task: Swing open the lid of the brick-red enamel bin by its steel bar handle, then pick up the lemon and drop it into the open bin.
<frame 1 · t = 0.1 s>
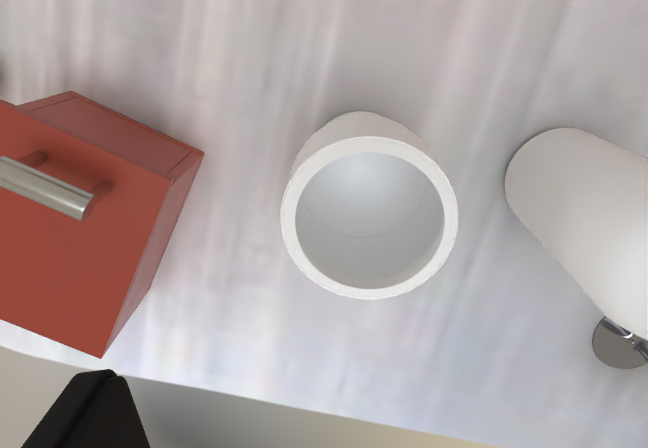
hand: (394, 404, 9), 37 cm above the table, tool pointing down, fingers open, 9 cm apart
bin lid: (37, 253, 35), point 13 cm above the table, hinge at 0.0°
bin: (112, 197, 47), on the table
wine glass: (629, 335, 51), on the table
jar: (360, 159, 45), on the table
alcohol: (552, 176, 46), on the table
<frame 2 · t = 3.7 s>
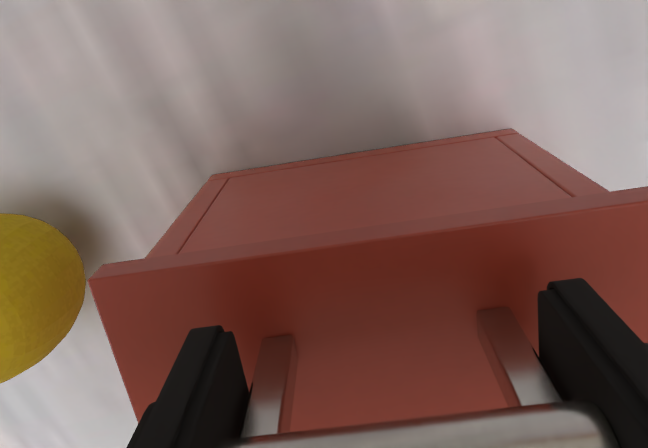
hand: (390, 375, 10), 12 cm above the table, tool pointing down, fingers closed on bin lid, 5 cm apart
bin: (382, 315, 23), on the table
lemon: (53, 248, 23), on the table
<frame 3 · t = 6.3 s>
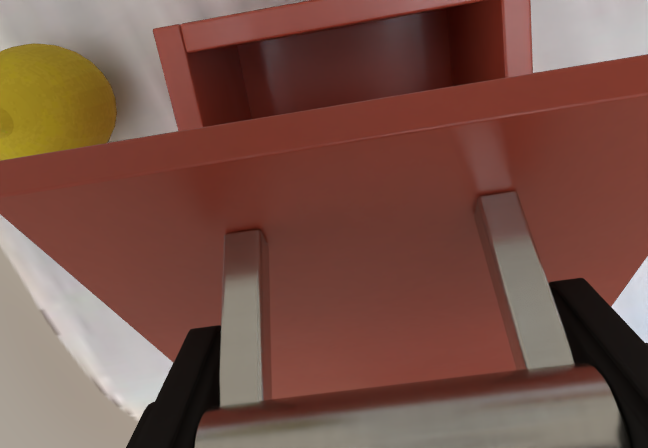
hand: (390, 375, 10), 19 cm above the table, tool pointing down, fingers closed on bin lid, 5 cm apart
bin lid: (396, 412, 13), point 17 cm above the table, hinge at 36.8°, touching gripper
bin: (358, 156, 28), on the table
lemon: (87, 98, 28), on the table
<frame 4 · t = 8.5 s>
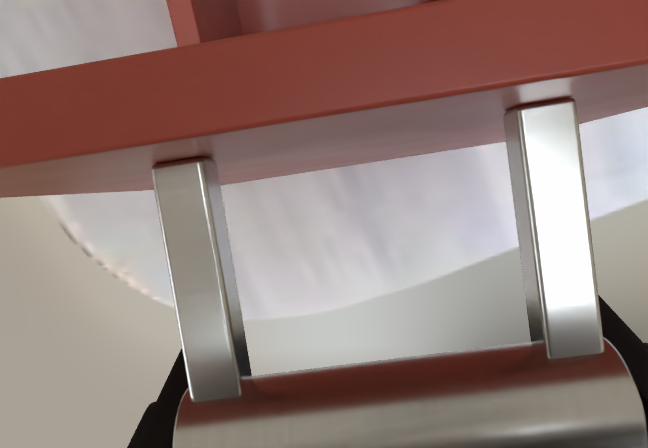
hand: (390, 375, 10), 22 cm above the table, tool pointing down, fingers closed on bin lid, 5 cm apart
bin lid: (371, 239, 12), point 19 cm above the table, hinge at 73.9°, touching gripper
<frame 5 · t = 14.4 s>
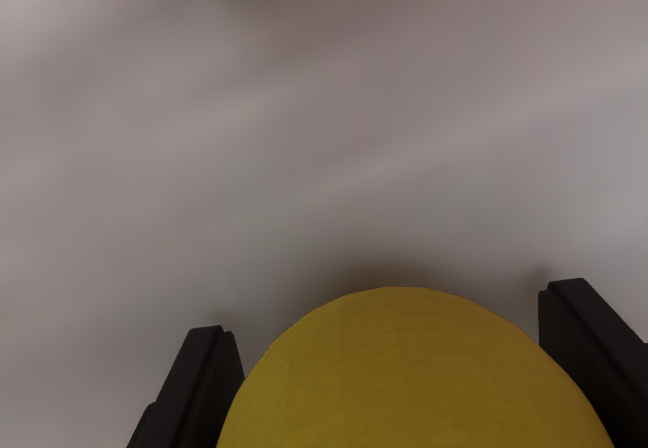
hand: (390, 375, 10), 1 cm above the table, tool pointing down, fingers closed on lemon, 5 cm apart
lemon: (384, 336, 11), on the table, touching gripper
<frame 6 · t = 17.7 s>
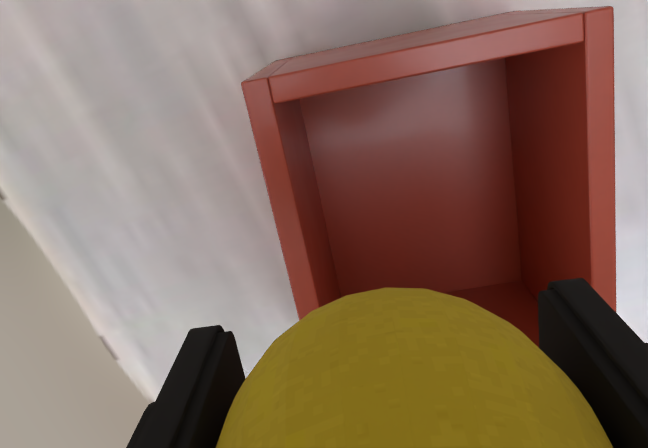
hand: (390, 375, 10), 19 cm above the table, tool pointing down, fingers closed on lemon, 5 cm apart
bin: (413, 180, 29), on the table
lemon: (384, 337, 11), point 18 cm above the table, touching gripper
when the fingers open (9 cm above the table, at t = 21.5 s): lemon stays where it is, resting on bin.
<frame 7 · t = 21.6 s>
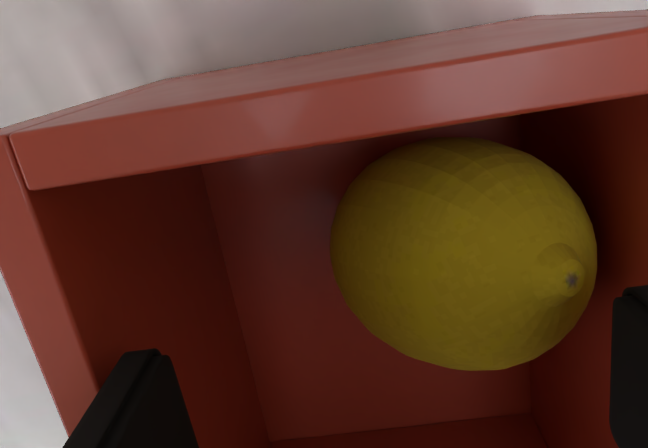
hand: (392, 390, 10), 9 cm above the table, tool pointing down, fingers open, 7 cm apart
bin: (374, 263, 19), on the table
lemon: (373, 232, 17), point 1 cm above the table, touching bin
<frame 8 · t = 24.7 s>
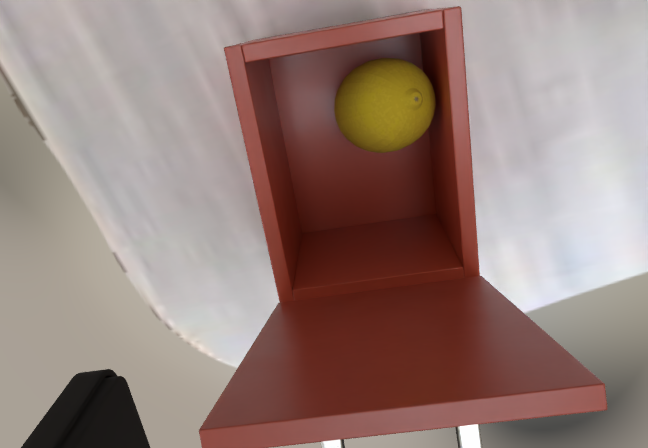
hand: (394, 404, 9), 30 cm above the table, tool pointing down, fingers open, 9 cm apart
bin lid: (392, 390, 23), point 19 cm above the table, hinge at 74.4°
bin: (355, 134, 38), on the table
lemon: (354, 113, 36), point 1 cm above the table, touching bin
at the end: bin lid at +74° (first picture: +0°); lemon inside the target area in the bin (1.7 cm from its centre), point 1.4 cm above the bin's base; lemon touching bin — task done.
